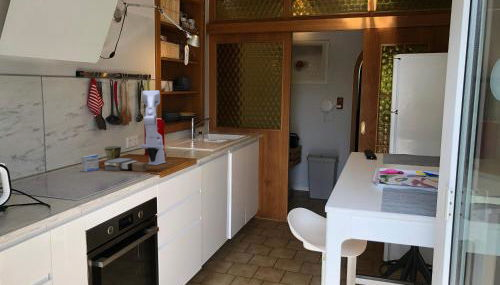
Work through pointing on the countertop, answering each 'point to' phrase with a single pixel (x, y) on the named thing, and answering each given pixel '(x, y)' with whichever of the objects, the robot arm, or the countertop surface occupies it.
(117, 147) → the ceramic cup
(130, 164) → the gauge plunger
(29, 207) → the countertop surface
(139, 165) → the walnut block
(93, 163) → the medicine box
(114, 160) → the gauge housing
